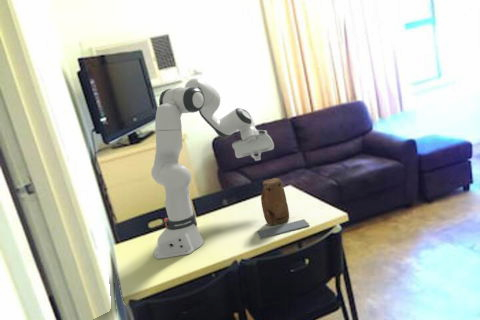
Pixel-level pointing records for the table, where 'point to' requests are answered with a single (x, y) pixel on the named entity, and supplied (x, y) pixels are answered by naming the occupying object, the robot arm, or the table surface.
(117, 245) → the table surface
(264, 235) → the mat
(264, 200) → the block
